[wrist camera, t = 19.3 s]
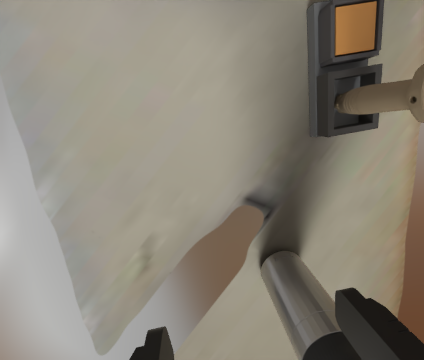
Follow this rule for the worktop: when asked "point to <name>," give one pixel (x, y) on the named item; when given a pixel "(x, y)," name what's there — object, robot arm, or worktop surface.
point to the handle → (386, 97)
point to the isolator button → (355, 28)
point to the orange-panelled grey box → (338, 71)
